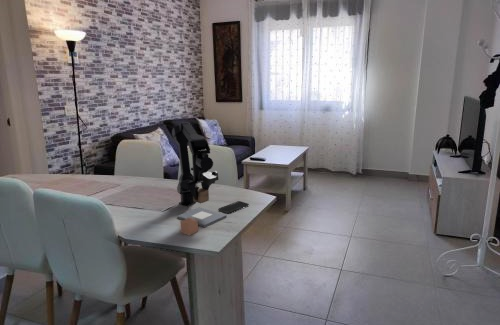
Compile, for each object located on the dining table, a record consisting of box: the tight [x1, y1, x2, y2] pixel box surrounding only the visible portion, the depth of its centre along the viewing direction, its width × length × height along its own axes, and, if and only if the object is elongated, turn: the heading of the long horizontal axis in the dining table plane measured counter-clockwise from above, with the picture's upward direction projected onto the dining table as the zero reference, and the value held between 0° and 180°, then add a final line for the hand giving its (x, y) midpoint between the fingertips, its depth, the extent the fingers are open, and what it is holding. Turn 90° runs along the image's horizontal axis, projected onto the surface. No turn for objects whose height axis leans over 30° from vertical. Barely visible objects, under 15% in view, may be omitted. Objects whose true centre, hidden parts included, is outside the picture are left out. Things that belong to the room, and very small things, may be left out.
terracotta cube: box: [179, 218, 199, 236], centre depth 147 cm, size 5×5×5 cm
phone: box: [218, 200, 250, 215], centre depth 174 cm, size 8×1×15 cm
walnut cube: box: [193, 187, 210, 204], centre depth 160 cm, size 5×5×5 cm
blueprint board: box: [177, 206, 227, 228], centre depth 162 cm, size 18×14×1 cm
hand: (200, 198), depth 160 cm, fingers closed on walnut cube, 5 cm apart
